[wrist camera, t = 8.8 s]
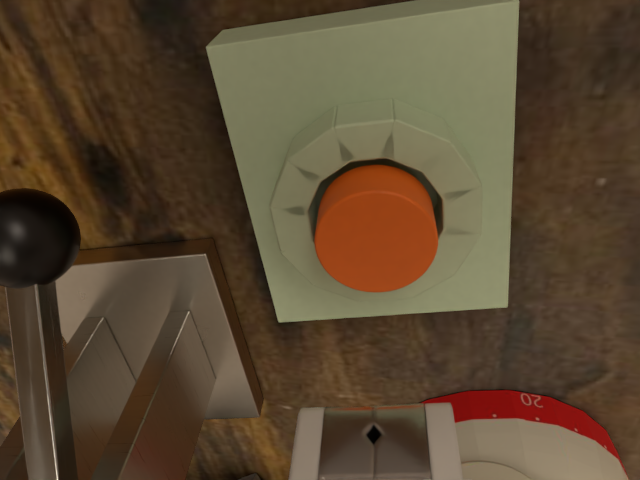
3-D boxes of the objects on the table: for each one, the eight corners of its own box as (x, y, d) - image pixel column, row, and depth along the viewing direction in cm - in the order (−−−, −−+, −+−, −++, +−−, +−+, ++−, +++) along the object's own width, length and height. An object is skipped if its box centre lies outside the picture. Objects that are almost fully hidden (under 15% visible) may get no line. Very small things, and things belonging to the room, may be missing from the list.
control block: (221, 29, 18) (188, 63, 15) (503, -14, 17) (536, 13, 13) (285, 289, 24) (271, 355, 21) (497, 273, 23) (518, 341, 19)
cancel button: (310, 169, 17) (304, 197, 15) (429, 156, 16) (436, 184, 15) (327, 264, 18) (324, 297, 17) (435, 256, 18) (440, 289, 16)
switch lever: (10, 195, 19) (-68, 192, 16) (94, 185, 19) (31, 180, 15) (52, 555, 20) (-15, 622, 16) (135, 556, 19) (82, 624, 16)
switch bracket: (39, 253, 24) (-192, 514, 14) (213, 237, 23) (92, 510, 13) (119, 405, 29) (-7, 670, 19) (263, 398, 28) (206, 678, 18)
